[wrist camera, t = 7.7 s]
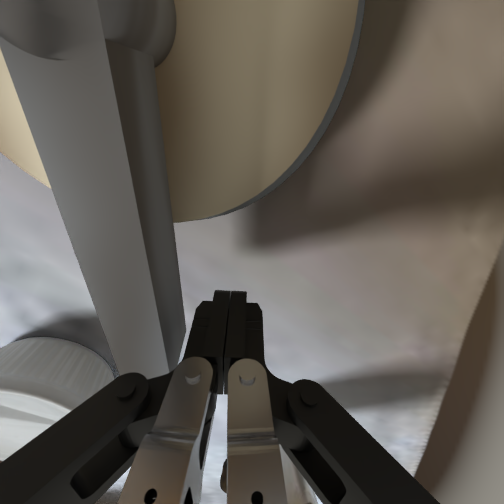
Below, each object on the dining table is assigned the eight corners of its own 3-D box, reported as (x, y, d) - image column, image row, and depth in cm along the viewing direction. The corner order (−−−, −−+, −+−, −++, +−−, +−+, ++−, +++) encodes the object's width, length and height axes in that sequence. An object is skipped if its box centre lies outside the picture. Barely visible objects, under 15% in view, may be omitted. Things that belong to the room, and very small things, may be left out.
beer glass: (316, 406, 27) (377, 687, 14) (263, 428, 29) (277, 687, 17) (275, 376, 24) (307, 695, 11) (221, 403, 26) (197, 694, 14)
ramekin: (92, 317, 20) (48, 382, 16) (145, 396, 26) (124, 461, 21) (-41, 333, 21) (-121, 401, 16) (40, 407, 27) (-2, 472, 22)
